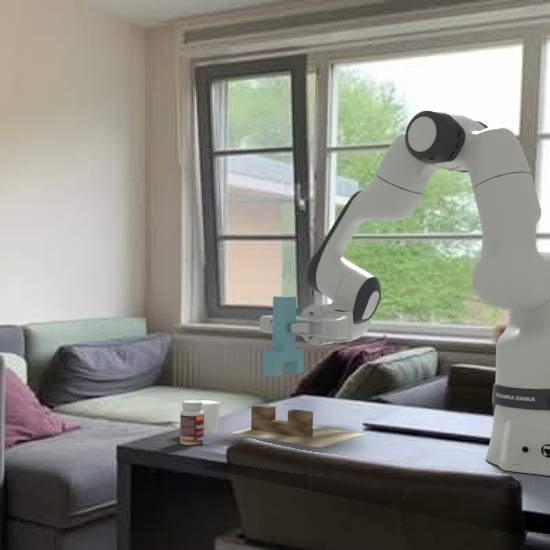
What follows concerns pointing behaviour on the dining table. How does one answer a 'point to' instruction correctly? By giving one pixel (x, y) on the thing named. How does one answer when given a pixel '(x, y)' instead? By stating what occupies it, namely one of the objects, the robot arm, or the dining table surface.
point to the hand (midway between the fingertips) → (281, 327)
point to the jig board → (312, 441)
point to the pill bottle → (191, 422)
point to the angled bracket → (283, 340)
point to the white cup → (210, 416)
